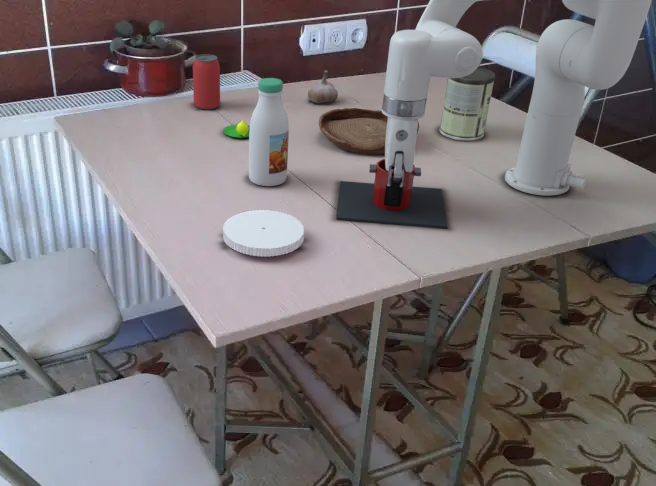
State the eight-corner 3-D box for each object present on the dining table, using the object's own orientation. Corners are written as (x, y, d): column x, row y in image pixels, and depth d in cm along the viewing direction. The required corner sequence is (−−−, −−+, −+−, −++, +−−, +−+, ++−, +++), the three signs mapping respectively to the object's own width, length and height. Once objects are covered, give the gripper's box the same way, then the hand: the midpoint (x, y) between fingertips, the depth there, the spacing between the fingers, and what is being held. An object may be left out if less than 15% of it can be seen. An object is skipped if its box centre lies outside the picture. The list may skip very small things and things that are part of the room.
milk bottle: (254, 189, 147) (256, 88, 136) (244, 173, 153) (245, 76, 142) (291, 185, 149) (296, 85, 138) (280, 169, 155) (284, 73, 144)
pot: (415, 196, 144) (420, 160, 140) (416, 212, 139) (422, 175, 134) (366, 192, 145) (370, 156, 141) (365, 208, 140) (369, 171, 135)
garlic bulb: (342, 100, 192) (344, 69, 188) (328, 108, 187) (331, 76, 182) (316, 94, 195) (318, 64, 191) (302, 102, 190) (304, 71, 186)
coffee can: (436, 123, 179) (446, 64, 171) (480, 126, 178) (491, 67, 171) (441, 139, 171) (451, 78, 163) (487, 142, 170) (499, 80, 162)
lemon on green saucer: (262, 137, 170) (263, 125, 168) (229, 141, 167) (229, 129, 166) (250, 125, 176) (250, 113, 174) (218, 129, 173) (218, 117, 172)
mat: (441, 190, 148) (441, 188, 148) (447, 228, 135) (447, 226, 134) (340, 183, 150) (340, 180, 150) (336, 219, 137) (336, 217, 136)
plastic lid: (214, 256, 125) (214, 243, 123) (232, 218, 136) (232, 206, 135) (297, 266, 123) (298, 252, 121) (308, 226, 134) (309, 214, 133)
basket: (321, 156, 161) (323, 134, 158) (312, 122, 178) (314, 102, 175) (424, 156, 162) (428, 135, 159) (406, 123, 179) (409, 103, 176)
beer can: (191, 102, 188) (189, 54, 182) (216, 100, 190) (215, 52, 183) (197, 111, 183) (196, 62, 176) (223, 109, 185) (222, 60, 178)
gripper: (428, 123, 124) (413, 219, 134) (423, 90, 138) (410, 179, 148) (382, 120, 125) (371, 215, 134) (382, 88, 139) (372, 176, 149)
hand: (391, 195), depth 141 cm, fingers closed on pot, 7 cm apart
